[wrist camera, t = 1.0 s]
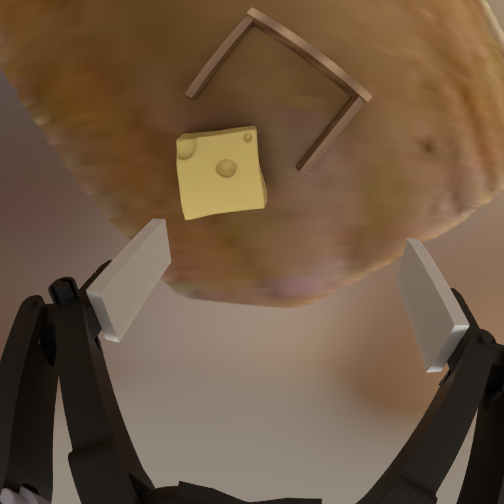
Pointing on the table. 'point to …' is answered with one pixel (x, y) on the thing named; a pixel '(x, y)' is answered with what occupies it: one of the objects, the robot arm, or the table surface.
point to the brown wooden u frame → (305, 52)
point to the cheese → (219, 172)
